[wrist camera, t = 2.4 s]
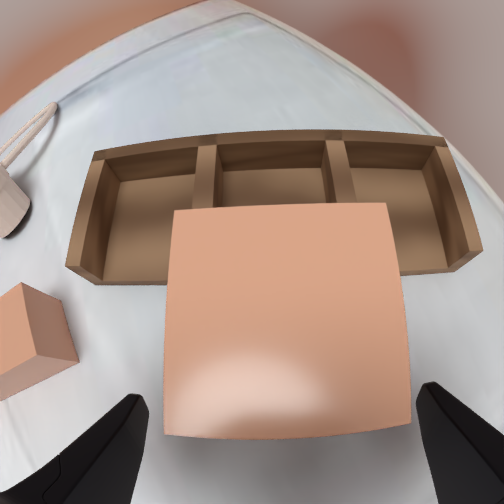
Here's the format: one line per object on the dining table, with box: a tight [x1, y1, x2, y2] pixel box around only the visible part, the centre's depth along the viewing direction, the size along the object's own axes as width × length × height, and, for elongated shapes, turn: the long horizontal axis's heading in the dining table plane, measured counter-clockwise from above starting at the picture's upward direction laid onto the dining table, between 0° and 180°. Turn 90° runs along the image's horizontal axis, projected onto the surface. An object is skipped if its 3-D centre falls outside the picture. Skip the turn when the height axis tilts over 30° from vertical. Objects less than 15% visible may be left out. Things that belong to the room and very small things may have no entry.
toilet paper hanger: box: [0, 102, 57, 238], centre depth 25 cm, size 20×5×16 cm
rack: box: [65, 130, 483, 285], centre depth 20 cm, size 9×26×4 cm, turn 91°
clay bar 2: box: [163, 203, 411, 440], centre depth 12 cm, size 5×5×13 cm
